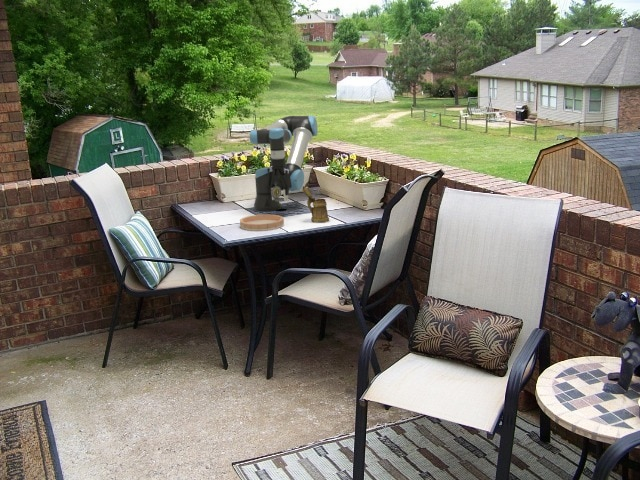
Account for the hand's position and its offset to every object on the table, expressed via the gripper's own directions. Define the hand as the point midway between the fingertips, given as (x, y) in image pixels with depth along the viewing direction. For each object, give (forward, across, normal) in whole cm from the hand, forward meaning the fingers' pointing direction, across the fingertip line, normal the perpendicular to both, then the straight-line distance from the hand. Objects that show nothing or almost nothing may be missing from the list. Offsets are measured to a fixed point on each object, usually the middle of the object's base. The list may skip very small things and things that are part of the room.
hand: (280, 200), depth 375 cm
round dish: (+8, +6, -22) cm, 25 cm away
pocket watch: (0, -1, 0) cm, 1 cm away
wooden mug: (+8, +24, 0) cm, 26 cm away
